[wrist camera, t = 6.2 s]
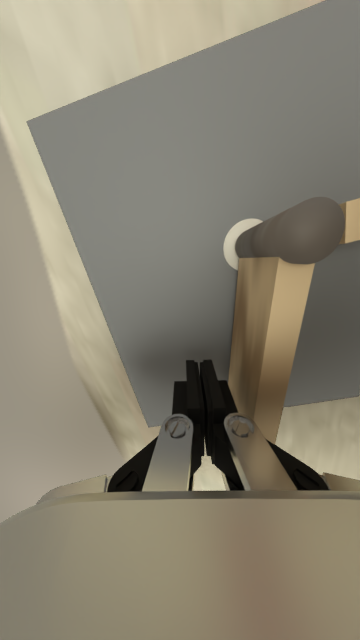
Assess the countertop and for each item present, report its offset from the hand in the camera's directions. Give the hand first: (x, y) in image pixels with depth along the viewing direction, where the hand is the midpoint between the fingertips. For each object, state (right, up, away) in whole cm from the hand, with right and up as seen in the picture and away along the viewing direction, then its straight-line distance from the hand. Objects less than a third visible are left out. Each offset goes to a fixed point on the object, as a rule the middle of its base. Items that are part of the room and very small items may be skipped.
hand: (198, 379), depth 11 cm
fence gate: (+3, +4, +1) cm, 5 cm away
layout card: (+2, +6, +1) cm, 7 cm away
